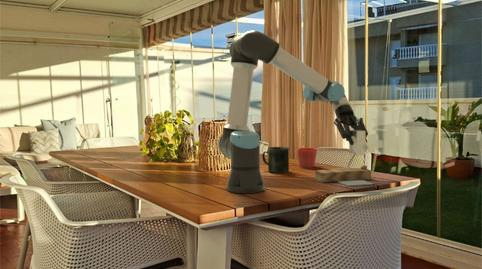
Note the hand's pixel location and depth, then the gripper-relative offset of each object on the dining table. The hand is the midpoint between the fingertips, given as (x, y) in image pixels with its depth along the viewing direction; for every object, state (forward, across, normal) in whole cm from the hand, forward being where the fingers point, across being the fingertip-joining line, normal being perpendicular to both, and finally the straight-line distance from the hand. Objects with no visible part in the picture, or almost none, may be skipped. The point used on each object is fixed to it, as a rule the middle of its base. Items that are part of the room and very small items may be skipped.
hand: (362, 149), depth 171 cm
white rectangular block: (-1, 0, -4) cm, 4 cm away
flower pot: (-27, +2, -48) cm, 55 cm away
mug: (-21, +23, -42) cm, 52 cm away
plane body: (0, +1, -21) cm, 21 cm away
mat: (+8, +1, -13) cm, 15 cm away
